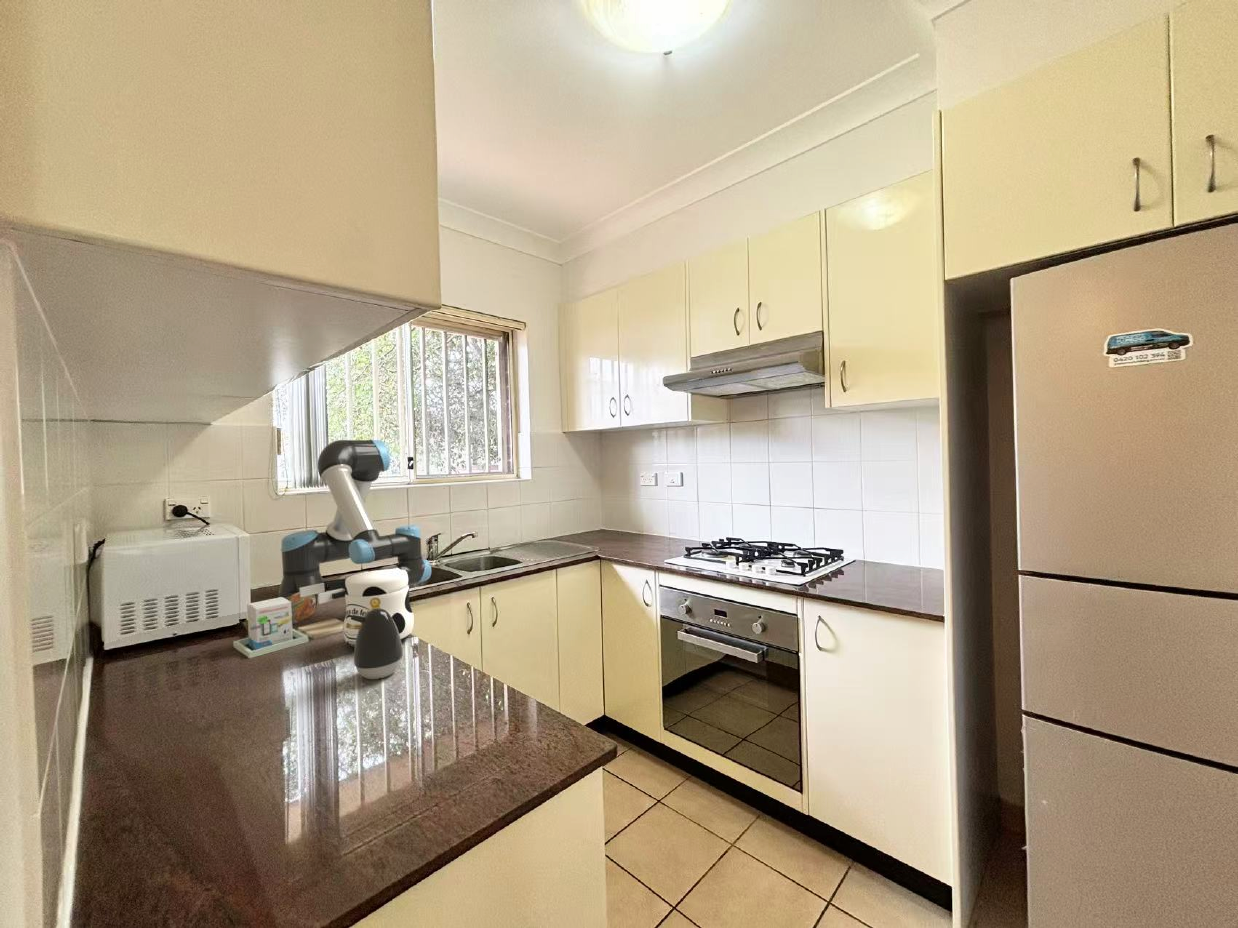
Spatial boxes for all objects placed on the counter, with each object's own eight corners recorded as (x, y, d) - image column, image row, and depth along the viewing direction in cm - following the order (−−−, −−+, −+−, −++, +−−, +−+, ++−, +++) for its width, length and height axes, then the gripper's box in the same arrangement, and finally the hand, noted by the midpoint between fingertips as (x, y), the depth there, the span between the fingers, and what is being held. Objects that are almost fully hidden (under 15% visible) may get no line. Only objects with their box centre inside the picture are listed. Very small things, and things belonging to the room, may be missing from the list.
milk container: (335, 658, 128) (331, 586, 128) (353, 634, 145) (350, 571, 145) (409, 649, 132) (405, 580, 132) (418, 627, 149) (415, 566, 149)
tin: (288, 627, 153) (287, 599, 153) (278, 628, 154) (276, 600, 153) (318, 611, 168) (317, 586, 168) (309, 612, 169) (308, 586, 168)
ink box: (256, 653, 134) (254, 608, 133) (248, 645, 139) (246, 603, 139) (293, 643, 140) (291, 601, 140) (284, 636, 146) (282, 595, 145)
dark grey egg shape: (357, 669, 120) (354, 605, 120) (405, 662, 124) (402, 600, 123) (349, 688, 111) (346, 618, 110) (401, 679, 114) (398, 612, 114)
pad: (297, 630, 150) (297, 627, 150) (334, 621, 158) (333, 618, 158) (314, 639, 142) (313, 635, 142) (351, 628, 150) (351, 625, 150)
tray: (233, 646, 139) (233, 641, 139) (290, 632, 149) (290, 626, 149) (249, 658, 130) (249, 652, 130) (308, 641, 141) (308, 636, 140)
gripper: (402, 596, 155) (327, 615, 139) (365, 586, 171) (293, 602, 155) (401, 571, 155) (326, 587, 139) (363, 563, 171) (292, 577, 154)
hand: (308, 595), depth 147 cm, fingers open, 13 cm apart
